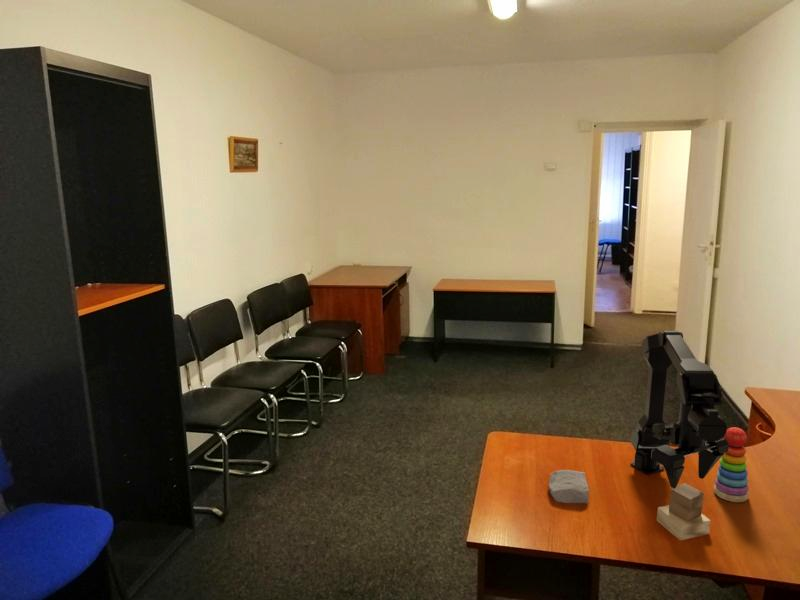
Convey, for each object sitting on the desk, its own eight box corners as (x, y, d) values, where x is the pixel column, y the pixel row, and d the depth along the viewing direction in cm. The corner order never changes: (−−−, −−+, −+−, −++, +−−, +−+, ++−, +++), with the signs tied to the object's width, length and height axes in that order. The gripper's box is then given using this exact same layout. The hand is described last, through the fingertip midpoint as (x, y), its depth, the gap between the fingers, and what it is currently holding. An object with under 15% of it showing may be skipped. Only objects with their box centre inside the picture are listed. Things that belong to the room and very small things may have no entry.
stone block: (552, 509, 151) (592, 504, 149) (549, 492, 151) (589, 487, 148) (549, 485, 163) (586, 481, 161) (546, 470, 162) (583, 465, 160)
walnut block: (682, 504, 142) (684, 482, 140) (701, 515, 138) (703, 492, 136) (668, 511, 140) (671, 489, 138) (687, 522, 135) (690, 499, 134)
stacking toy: (746, 490, 154) (754, 424, 149) (749, 506, 147) (758, 438, 142) (712, 484, 157) (719, 419, 152) (714, 500, 150) (721, 433, 145)
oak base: (684, 515, 144) (685, 501, 143) (708, 535, 137) (710, 520, 136) (656, 522, 142) (657, 507, 141) (680, 542, 135) (681, 526, 134)
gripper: (691, 400, 144) (686, 458, 147) (634, 416, 136) (630, 476, 140) (733, 418, 134) (726, 479, 137) (674, 435, 127) (668, 499, 130)
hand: (687, 482), depth 137 cm, fingers open, 9 cm apart
